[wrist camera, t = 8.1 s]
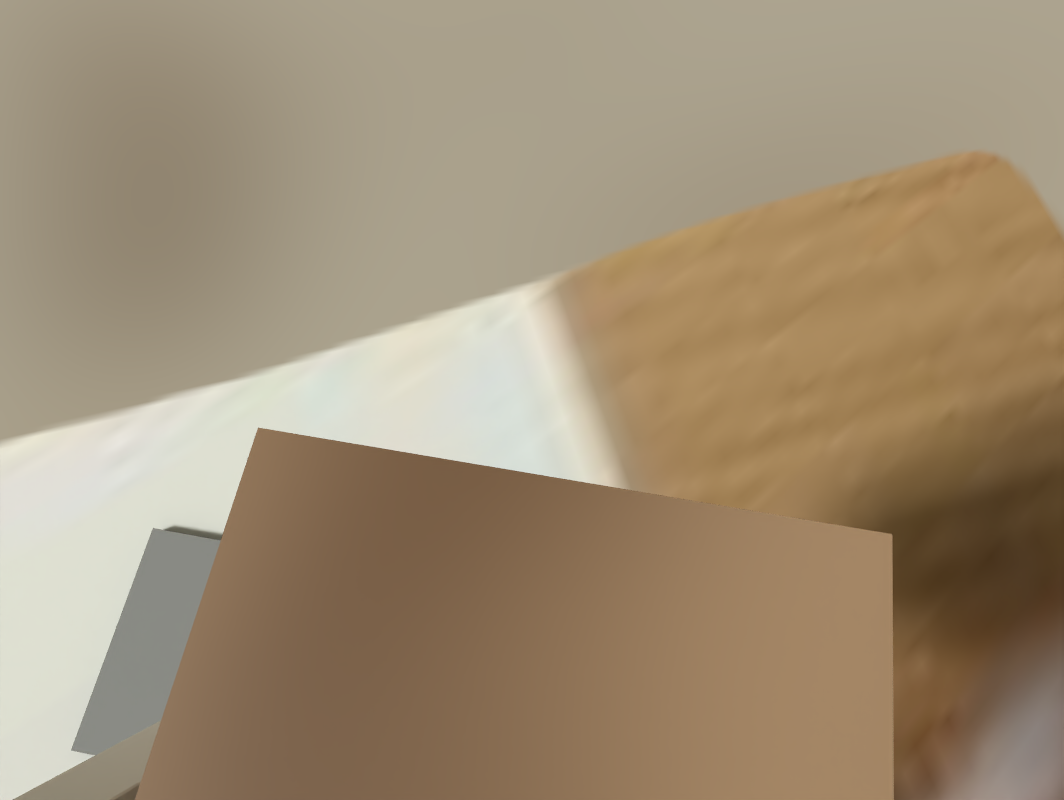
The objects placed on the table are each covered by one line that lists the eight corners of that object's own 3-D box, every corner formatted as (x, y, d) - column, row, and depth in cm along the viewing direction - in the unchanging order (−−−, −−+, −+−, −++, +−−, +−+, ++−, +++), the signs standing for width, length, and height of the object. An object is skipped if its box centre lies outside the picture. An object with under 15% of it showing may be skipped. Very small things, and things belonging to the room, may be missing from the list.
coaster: (353, 566, 32) (350, 564, 32) (294, 792, 29) (289, 794, 28) (159, 530, 33) (152, 528, 32) (79, 748, 29) (71, 750, 29)
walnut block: (655, 636, 17) (892, 533, 6) (628, 889, 15) (896, 1502, 4) (442, 597, 17) (258, 427, 6) (389, 840, 15) (-19, 1262, 4)
